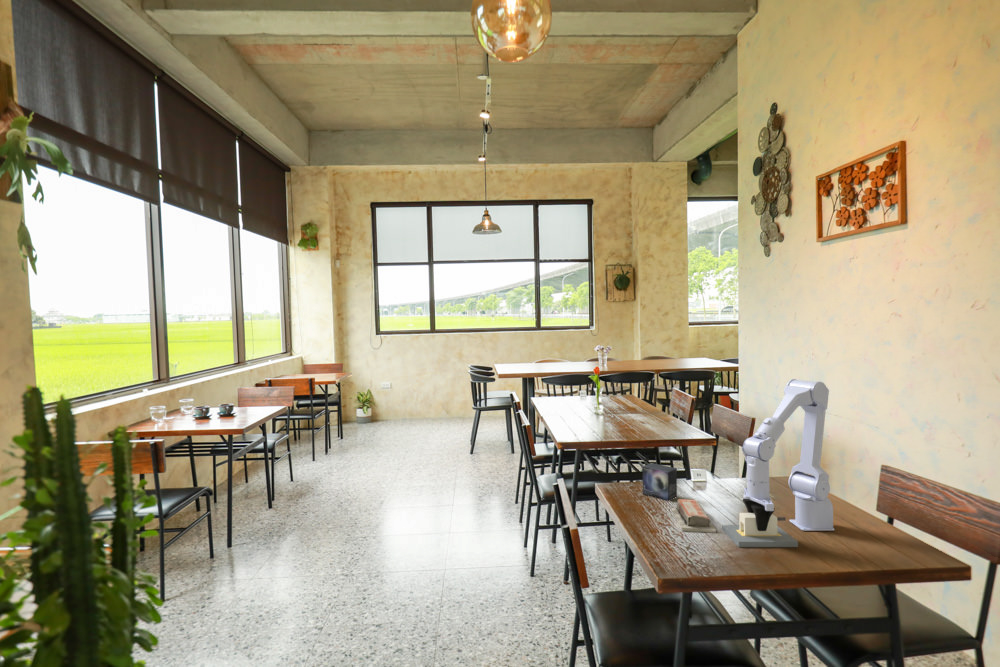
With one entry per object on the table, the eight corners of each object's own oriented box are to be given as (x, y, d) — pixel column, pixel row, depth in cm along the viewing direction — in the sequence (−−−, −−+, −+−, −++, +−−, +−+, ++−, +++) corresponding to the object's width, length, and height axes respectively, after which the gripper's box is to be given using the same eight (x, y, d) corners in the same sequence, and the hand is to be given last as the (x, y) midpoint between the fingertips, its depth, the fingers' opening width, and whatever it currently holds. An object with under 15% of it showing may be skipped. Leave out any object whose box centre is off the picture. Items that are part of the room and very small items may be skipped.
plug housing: (781, 529, 154) (781, 512, 154) (788, 535, 150) (788, 517, 150) (739, 530, 154) (739, 512, 154) (745, 535, 150) (744, 517, 150)
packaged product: (670, 497, 176) (702, 498, 175) (670, 511, 176) (702, 512, 175) (681, 516, 158) (716, 518, 157) (681, 532, 158) (716, 534, 157)
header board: (776, 530, 158) (776, 518, 158) (798, 547, 146) (797, 534, 146) (722, 530, 159) (721, 518, 158) (738, 547, 147) (738, 534, 146)
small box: (641, 494, 193) (641, 465, 192) (651, 490, 197) (651, 462, 197) (668, 501, 185) (667, 471, 185) (677, 497, 189) (677, 467, 189)
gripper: (733, 473, 159) (733, 518, 160) (755, 488, 145) (755, 537, 145) (757, 473, 159) (757, 518, 159) (781, 487, 145) (781, 537, 145)
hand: (758, 527), depth 152 cm, fingers closed on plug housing, 4 cm apart
